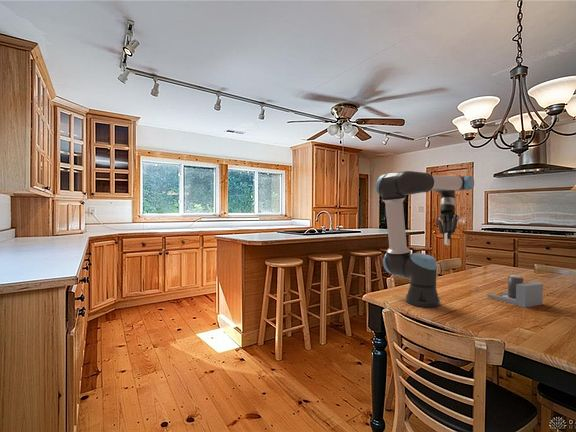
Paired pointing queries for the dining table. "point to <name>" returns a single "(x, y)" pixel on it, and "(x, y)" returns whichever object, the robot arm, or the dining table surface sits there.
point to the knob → (513, 286)
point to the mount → (524, 295)
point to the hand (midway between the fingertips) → (446, 244)
